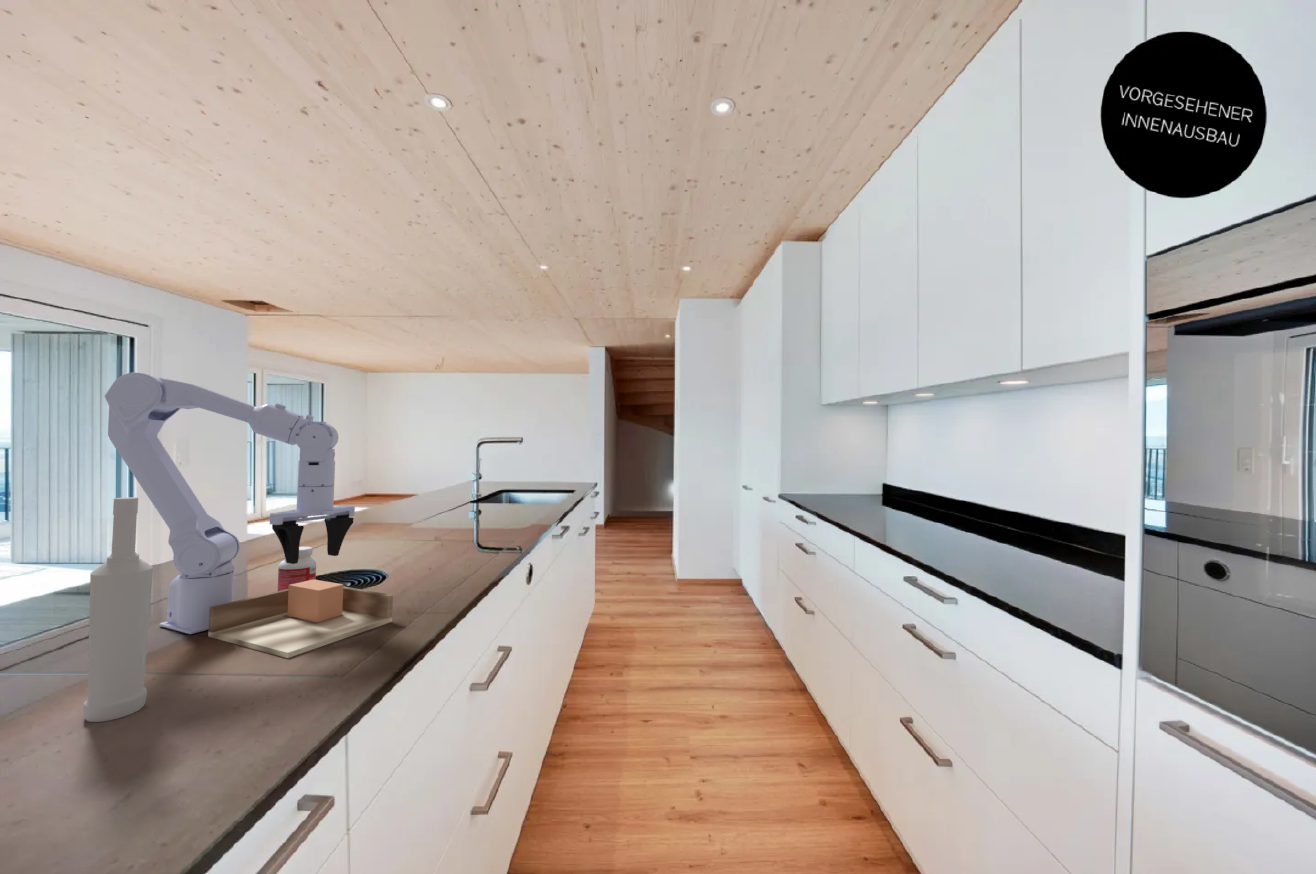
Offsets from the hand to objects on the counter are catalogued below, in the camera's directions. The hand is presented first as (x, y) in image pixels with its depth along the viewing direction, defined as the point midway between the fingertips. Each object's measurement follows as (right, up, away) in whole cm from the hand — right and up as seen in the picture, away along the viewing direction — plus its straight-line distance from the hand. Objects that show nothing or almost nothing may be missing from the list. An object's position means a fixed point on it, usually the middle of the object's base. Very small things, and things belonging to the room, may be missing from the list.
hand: (313, 559), depth 95 cm
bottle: (0, -10, -35) cm, 37 cm away
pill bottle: (-7, -11, +6) cm, 14 cm away
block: (+2, -10, -3) cm, 10 cm away
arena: (+3, -10, -7) cm, 13 cm away
